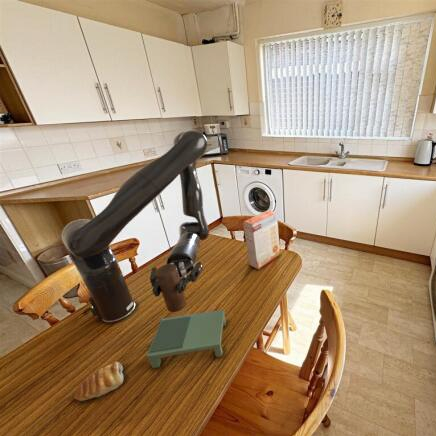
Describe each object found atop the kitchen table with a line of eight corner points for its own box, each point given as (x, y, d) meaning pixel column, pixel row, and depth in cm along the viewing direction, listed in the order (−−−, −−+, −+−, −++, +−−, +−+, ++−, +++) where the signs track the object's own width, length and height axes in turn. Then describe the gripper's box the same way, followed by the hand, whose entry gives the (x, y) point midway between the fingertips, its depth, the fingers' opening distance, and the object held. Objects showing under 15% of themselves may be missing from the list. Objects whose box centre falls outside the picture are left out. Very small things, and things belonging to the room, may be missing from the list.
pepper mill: (164, 313, 63) (151, 277, 58) (170, 299, 67) (158, 265, 62) (184, 310, 64) (173, 274, 58) (188, 297, 68) (178, 262, 63)
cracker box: (270, 250, 111) (267, 209, 102) (280, 255, 107) (277, 212, 99) (248, 265, 101) (242, 220, 92) (257, 270, 98) (252, 224, 89)
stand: (151, 369, 61) (145, 355, 59) (166, 330, 72) (161, 318, 70) (222, 356, 64) (219, 343, 62) (226, 321, 75) (224, 309, 72)
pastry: (77, 412, 53) (69, 402, 52) (77, 387, 58) (71, 377, 56) (125, 384, 58) (120, 374, 57) (122, 363, 63) (117, 354, 62)
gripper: (156, 247, 73) (132, 284, 58) (205, 242, 75) (194, 276, 59) (163, 267, 76) (141, 307, 61) (209, 262, 78) (200, 299, 63)
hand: (167, 292), depth 60 cm, fingers closed on pepper mill, 5 cm apart
